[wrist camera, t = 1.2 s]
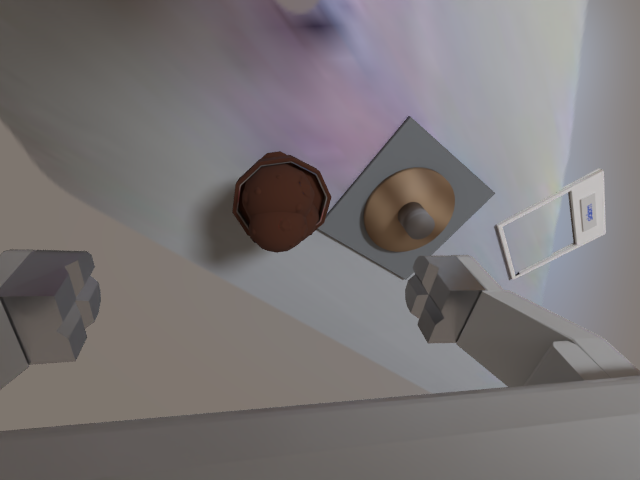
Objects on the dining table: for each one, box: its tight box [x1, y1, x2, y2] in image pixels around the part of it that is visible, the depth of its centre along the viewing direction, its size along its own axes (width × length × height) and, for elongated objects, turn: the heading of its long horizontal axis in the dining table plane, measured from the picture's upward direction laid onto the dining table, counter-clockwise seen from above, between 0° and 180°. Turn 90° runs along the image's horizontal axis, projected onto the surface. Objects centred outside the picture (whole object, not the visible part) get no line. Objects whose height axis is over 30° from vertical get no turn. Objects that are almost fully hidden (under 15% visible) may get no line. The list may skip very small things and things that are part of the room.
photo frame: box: [496, 168, 606, 280], centre depth 62 cm, size 15×1×18 cm
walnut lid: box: [364, 167, 455, 252], centre depth 52 cm, size 14×14×5 cm
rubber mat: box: [318, 116, 495, 279], centre depth 54 cm, size 20×20×1 cm
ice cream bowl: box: [233, 152, 331, 252], centre depth 41 cm, size 11×11×15 cm
